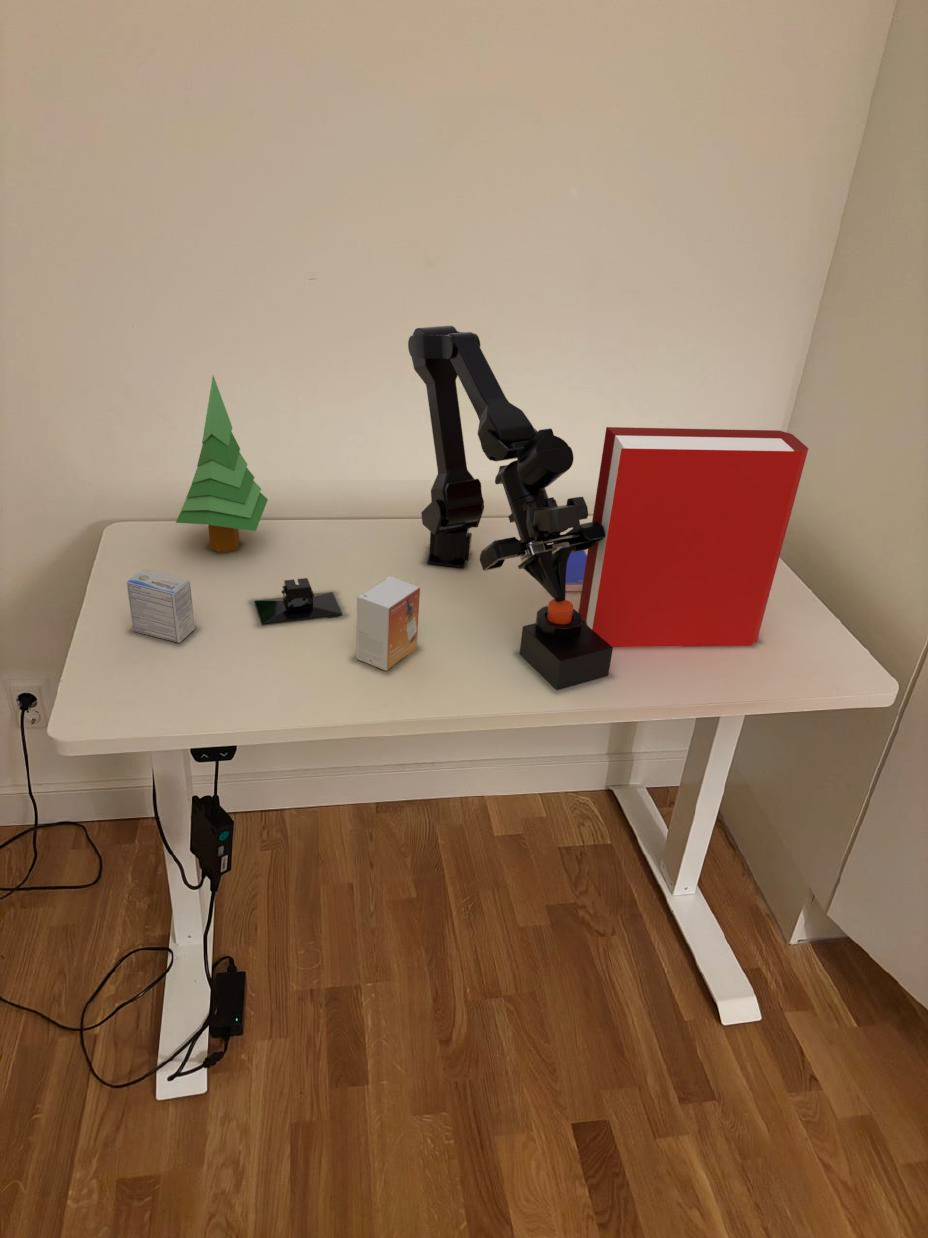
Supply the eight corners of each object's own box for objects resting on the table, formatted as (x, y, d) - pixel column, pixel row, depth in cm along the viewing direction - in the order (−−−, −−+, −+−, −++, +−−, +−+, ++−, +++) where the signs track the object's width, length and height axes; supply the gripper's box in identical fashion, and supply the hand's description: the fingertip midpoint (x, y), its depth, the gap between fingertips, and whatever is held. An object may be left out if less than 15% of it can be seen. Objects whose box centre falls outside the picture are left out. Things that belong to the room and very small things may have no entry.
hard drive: (601, 583, 161) (584, 548, 171) (553, 583, 159) (539, 548, 170) (600, 591, 161) (583, 556, 172) (552, 591, 160) (538, 556, 171)
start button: (542, 615, 140) (543, 601, 139) (562, 610, 142) (564, 596, 141) (555, 627, 138) (557, 613, 137) (576, 622, 139) (578, 608, 138)
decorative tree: (223, 520, 175) (212, 355, 159) (285, 547, 167) (280, 377, 152) (162, 545, 165) (144, 372, 149) (226, 575, 158) (214, 396, 142)
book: (589, 647, 146) (621, 448, 130) (577, 620, 153) (606, 426, 136) (759, 645, 150) (812, 451, 133) (740, 618, 157) (788, 430, 140)
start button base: (516, 652, 144) (521, 611, 140) (566, 639, 148) (572, 599, 144) (556, 690, 136) (562, 649, 132) (608, 676, 140) (615, 635, 136)
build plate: (332, 594, 155) (332, 568, 152) (343, 617, 149) (343, 591, 147) (254, 602, 151) (253, 576, 148) (261, 626, 145) (261, 599, 143)
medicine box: (196, 630, 143) (191, 578, 139) (179, 644, 139) (173, 592, 135) (150, 618, 145) (144, 567, 140) (132, 632, 141) (125, 580, 137)
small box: (386, 672, 137) (388, 609, 131) (354, 659, 139) (355, 596, 134) (418, 648, 143) (421, 586, 137) (387, 635, 145) (389, 574, 140)
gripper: (496, 488, 130) (532, 597, 127) (608, 470, 138) (644, 572, 136) (464, 517, 139) (496, 619, 137) (570, 499, 148) (603, 595, 145)
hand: (561, 601), depth 138 cm, fingers closed
